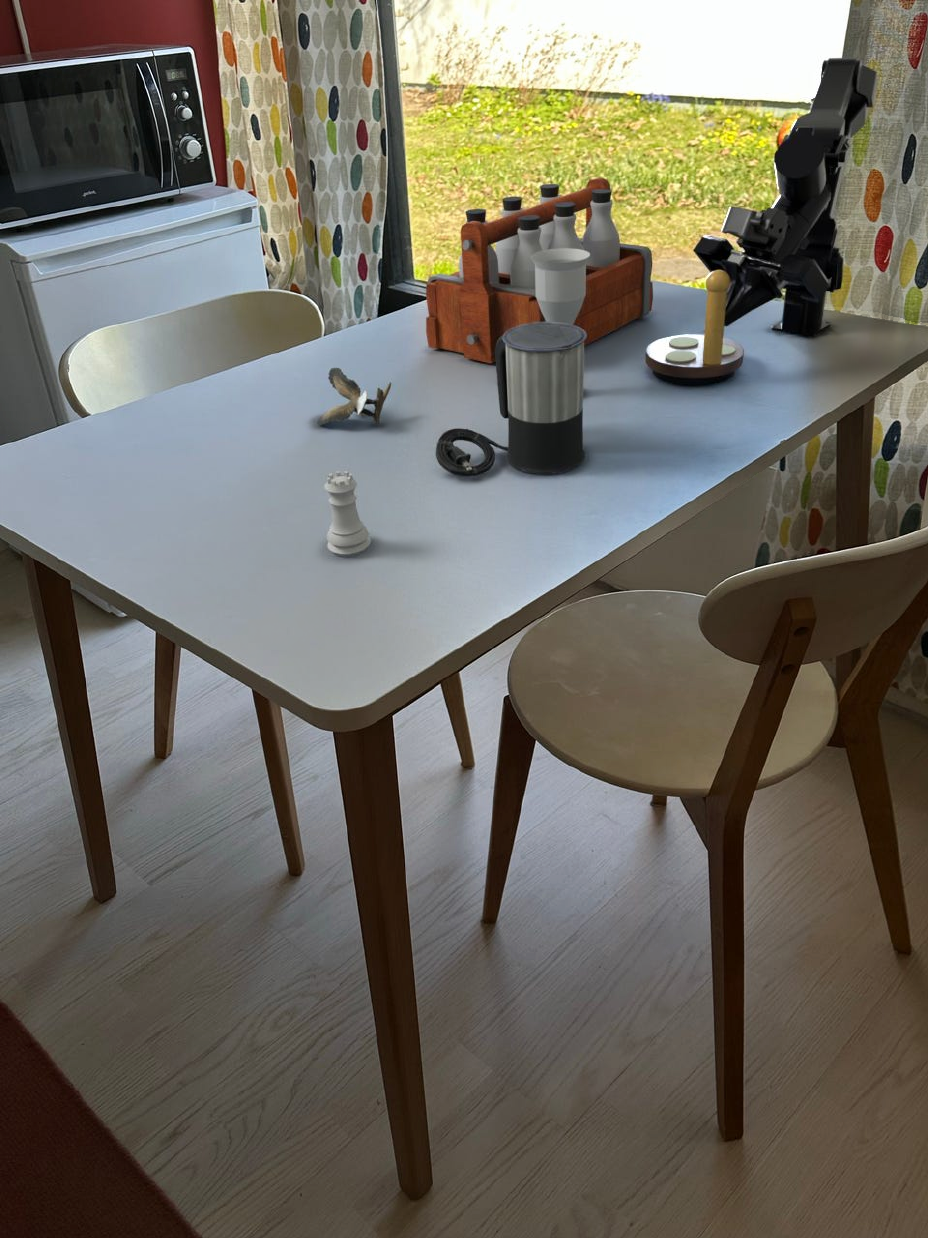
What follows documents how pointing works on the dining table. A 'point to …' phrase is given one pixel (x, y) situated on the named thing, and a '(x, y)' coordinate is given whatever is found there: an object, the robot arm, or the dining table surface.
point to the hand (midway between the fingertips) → (721, 323)
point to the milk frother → (531, 403)
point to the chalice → (560, 283)
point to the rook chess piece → (345, 517)
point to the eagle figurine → (352, 399)
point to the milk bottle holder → (505, 277)
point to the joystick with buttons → (700, 341)
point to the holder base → (692, 379)
